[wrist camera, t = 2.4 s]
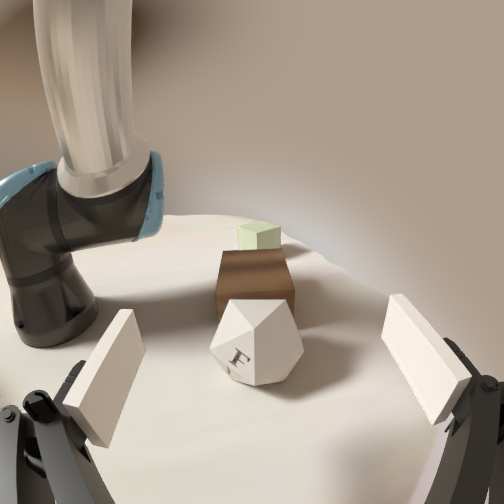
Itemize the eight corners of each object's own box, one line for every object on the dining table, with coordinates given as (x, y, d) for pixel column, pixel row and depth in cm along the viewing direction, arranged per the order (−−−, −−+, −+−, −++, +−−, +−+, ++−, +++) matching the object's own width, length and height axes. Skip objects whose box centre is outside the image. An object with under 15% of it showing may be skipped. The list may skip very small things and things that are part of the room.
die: (207, 359, 31) (180, 338, 22) (254, 302, 34) (247, 261, 26) (266, 404, 28) (262, 404, 19) (313, 341, 31) (328, 314, 22)
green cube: (239, 254, 59) (237, 226, 56) (261, 247, 62) (260, 220, 60) (257, 263, 54) (256, 233, 52) (280, 254, 58) (280, 226, 55)
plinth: (293, 331, 34) (294, 289, 32) (220, 334, 34) (214, 292, 32) (281, 282, 46) (281, 248, 44) (226, 285, 46) (223, 250, 44)
